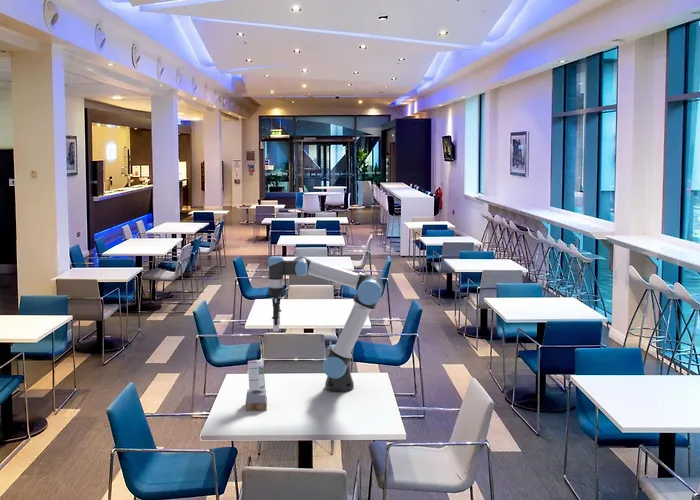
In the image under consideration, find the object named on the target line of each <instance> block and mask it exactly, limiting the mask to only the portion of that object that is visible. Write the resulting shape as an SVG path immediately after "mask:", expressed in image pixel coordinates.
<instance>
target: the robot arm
mask: <svg viewBox="0 0 700 500" xmlns="http://www.w3.org/2000/svg"><path fill="white" fill-rule="evenodd" d="M267 264H268V265H267V270H268V271H267V272H268V280H267V283H268V286H269V287H268V295H269V296H273V297H272V299H271V301H272V308H273V309H272V314H273V315H272V317H271V319H272V320H273V321H272V323H273V324H272V325H273V326H272V328H273V329H272V330H273V332H279V331H280V325H281V312H282V309H281V307H280V306H281V297H280V296H282V295H284V292H285V290H284V284H285V283H284V281H285V279H284V276H291V277H292V276H296V277H303V276H307V275H309V276H313V277H316V278H319V279H323V280H326V281H329V282H334V283H337V284H341V285H343V286H348V287H350V288H353V289H354V291H356V293H355V295H354V296H353V304H354V305H353V306H352V309H351V311H350V313H349V315H348V317H347V319H346V321H345V324H344V325H343V327H342V330H341V331H340V332H341V333H340V335H339V337H338V339H337V341H336V343H335V344H330V345H328V346H327V351H328V352H327V353H328V354H327V355H326V357H325V359H324V360H323V364H322V369H323V372H324V374H325V375H326V376H327V377H326V380H325V382H324V383H325V384H324V388H325V390H327V391H330V392H335V393H344V392H348V391H352V390H353V389H355V385H354V384H355V383H354V380H353V377H352V374H351V360H352V358H353V355H352V351H353V349H354V347H355V344H356V342H357V341H358V338H359V336H360V334H361V332H362V330H363V328H364V325H365V323H366V321H367V319H368V317H369V314H370V313H371V312H372V311H374V310H375V308H376V307H377V304H378V303H379V300H380V299H381V298H382V294H383V291H384V283H383V282H382V279H380V278H379V277H378V276H375V275H372V274H369V273H364V272H359V273H357V272H354V271H349V270H346V269H343V268H340V267H336V266H334V265H331V264H330V265H329V264H326V263H323V262H319V261H316V260H312V259H308V257H306V256H304V255H300V256H299V255H298V256H296V257H295V258H294V259H293V260H284V256H282V255H272V256H269V258H268V261H267Z"/></svg>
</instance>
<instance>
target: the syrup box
mask: <svg viewBox="0 0 700 500" xmlns="http://www.w3.org/2000/svg"><path fill="white" fill-rule="evenodd" d="M264 362H265V361H264V359H253V360H248V361H247V370H248V371H247V372H248V388H249V389H248V390H250V391H257V390H264V389H266V382H265V381H266V380H265V365H264Z"/></svg>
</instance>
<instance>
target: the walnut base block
mask: <svg viewBox="0 0 700 500" xmlns="http://www.w3.org/2000/svg"><path fill="white" fill-rule="evenodd" d="M244 404H245V412H257V411H258V412H259V411H262V412H263V411H267V409H268V396H267V395H266V402H265V403H250V404H247V402H246V401H245V403H244Z"/></svg>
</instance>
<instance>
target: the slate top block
mask: <svg viewBox="0 0 700 500" xmlns="http://www.w3.org/2000/svg"><path fill="white" fill-rule="evenodd" d="M266 396H267V389H266V388H265V389H264V390H257V391H250V390H249V389H247V390H246V398H245V403H246V402H247V404H250V403H265V402H266Z"/></svg>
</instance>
